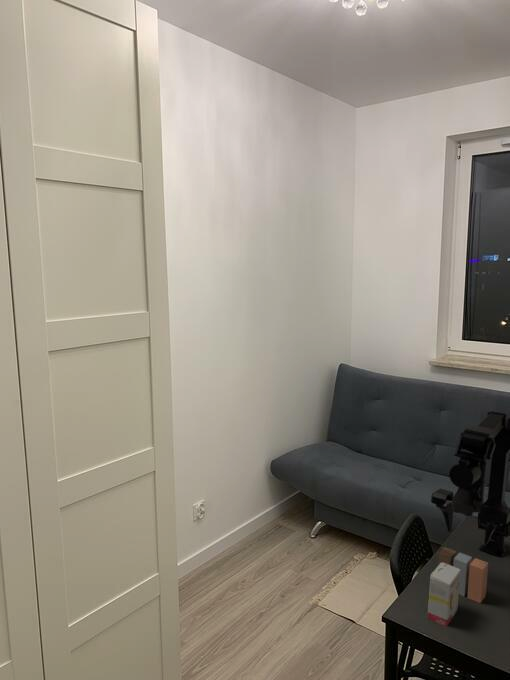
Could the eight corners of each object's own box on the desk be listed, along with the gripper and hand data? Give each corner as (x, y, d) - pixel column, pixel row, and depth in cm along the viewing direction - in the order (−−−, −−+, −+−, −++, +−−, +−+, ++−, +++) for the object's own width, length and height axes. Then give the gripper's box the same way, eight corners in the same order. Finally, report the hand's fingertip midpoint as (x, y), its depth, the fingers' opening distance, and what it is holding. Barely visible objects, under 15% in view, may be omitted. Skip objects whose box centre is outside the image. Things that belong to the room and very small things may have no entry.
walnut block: (442, 578, 138) (444, 547, 137) (454, 583, 136) (456, 551, 135) (436, 585, 135) (438, 552, 134) (448, 590, 133) (450, 557, 132)
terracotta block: (472, 590, 133) (475, 558, 132) (485, 595, 131) (488, 562, 130) (467, 597, 130) (469, 564, 129) (480, 603, 128) (483, 569, 127)
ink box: (447, 631, 119) (450, 584, 118) (426, 622, 122) (428, 576, 121) (458, 613, 126) (461, 568, 125) (438, 605, 129) (441, 561, 128)
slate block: (457, 584, 136) (459, 552, 135) (469, 589, 134) (471, 556, 132) (451, 591, 133) (453, 558, 132) (464, 596, 131) (466, 563, 129)
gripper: (425, 476, 132) (420, 535, 133) (503, 496, 120) (497, 561, 121) (441, 467, 141) (436, 522, 142) (515, 486, 129) (509, 546, 130)
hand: (467, 537), depth 133 cm, fingers open, 9 cm apart
